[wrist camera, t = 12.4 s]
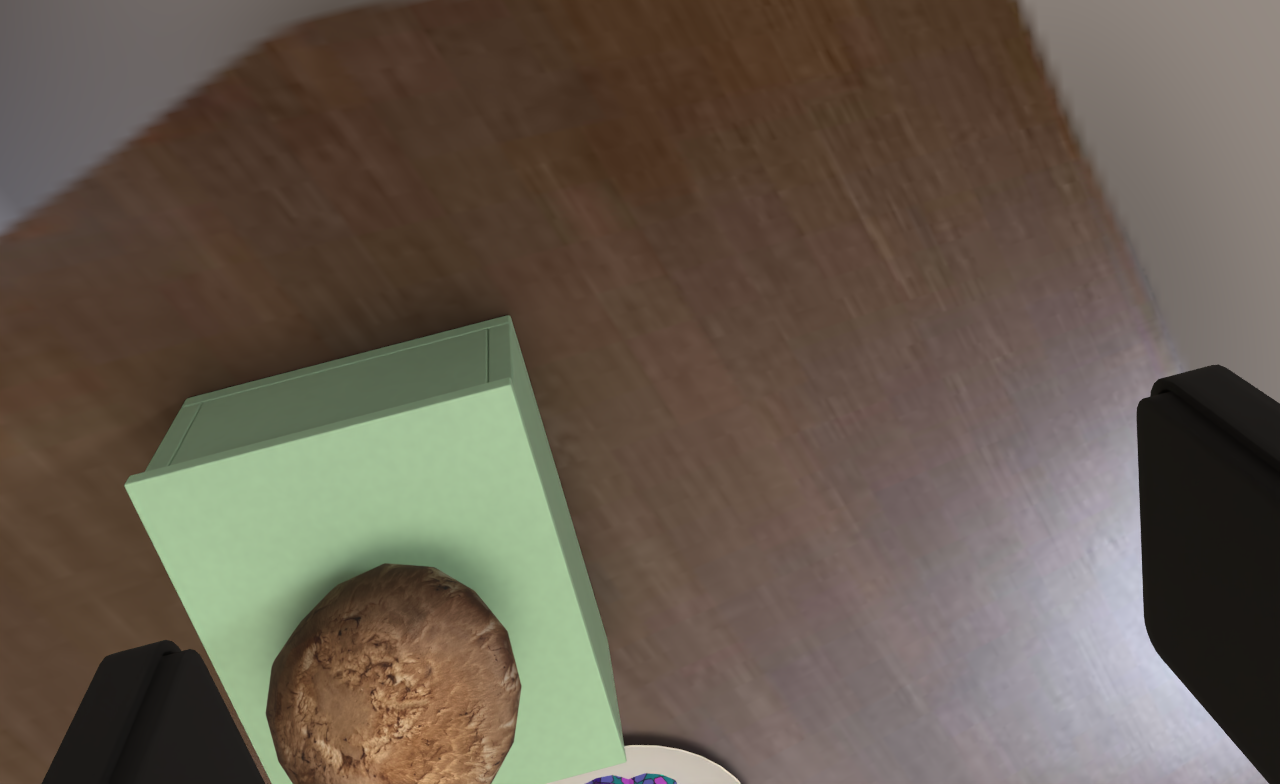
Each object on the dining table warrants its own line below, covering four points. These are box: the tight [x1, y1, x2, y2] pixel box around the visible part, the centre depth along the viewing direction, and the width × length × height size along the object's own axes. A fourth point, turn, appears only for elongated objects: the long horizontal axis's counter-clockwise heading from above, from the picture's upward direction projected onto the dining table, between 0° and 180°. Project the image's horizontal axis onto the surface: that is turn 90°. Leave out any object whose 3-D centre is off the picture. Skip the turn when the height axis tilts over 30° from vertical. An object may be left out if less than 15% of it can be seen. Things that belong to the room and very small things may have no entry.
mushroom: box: [266, 563, 522, 784], centre depth 34 cm, size 8×8×6 cm
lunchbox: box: [145, 315, 624, 745], centre depth 40 cm, size 15×12×6 cm
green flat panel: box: [124, 377, 627, 784], centre depth 36 cm, size 15×12×1 cm
